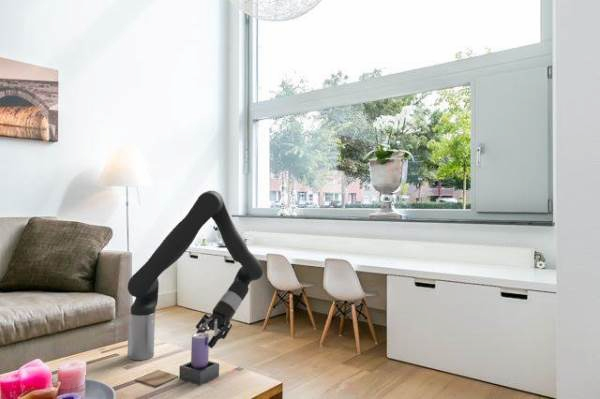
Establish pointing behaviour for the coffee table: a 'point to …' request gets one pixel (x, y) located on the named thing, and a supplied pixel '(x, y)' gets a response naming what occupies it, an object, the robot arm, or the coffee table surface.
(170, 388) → the coffee table surface
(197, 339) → the beverage can
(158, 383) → the walnut coaster
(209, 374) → the square socket
